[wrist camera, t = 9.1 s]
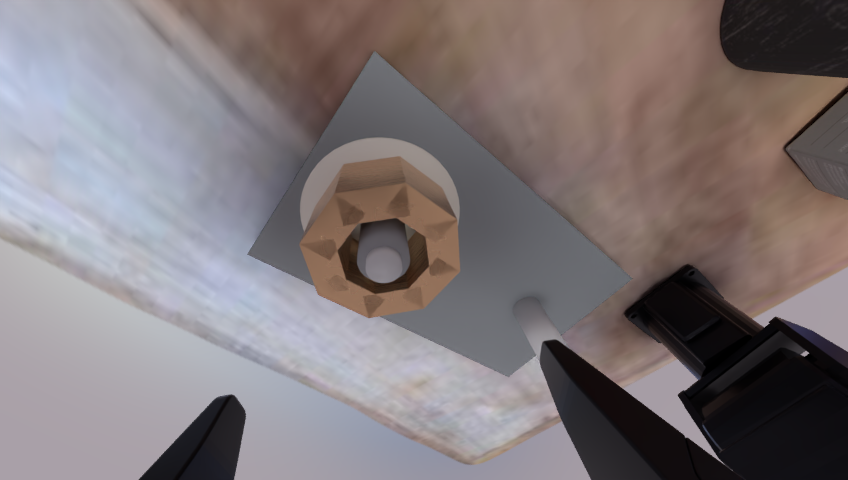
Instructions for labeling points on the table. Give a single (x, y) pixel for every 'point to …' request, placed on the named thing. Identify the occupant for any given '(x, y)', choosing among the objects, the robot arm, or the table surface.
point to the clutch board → (477, 229)
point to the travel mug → (787, 36)
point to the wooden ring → (372, 201)
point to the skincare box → (825, 150)
